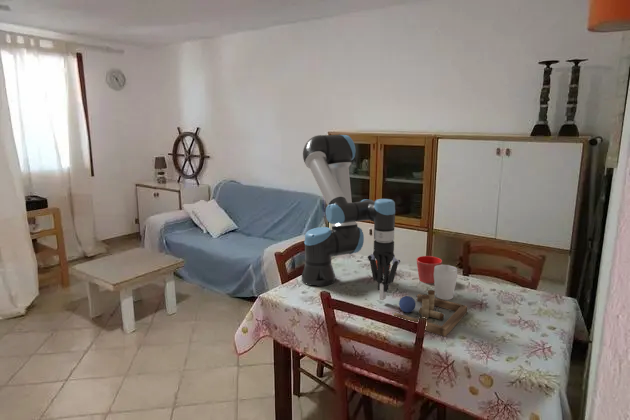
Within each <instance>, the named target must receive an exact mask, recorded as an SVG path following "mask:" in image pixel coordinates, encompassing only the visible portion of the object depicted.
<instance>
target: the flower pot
mask: <svg viewBox="0 0 630 420" xmlns="http://www.w3.org/2000/svg"><path fill="white" fill-rule="evenodd" d="M437 265H443V260H442V258H439V257H437V256H432V255H422V256H418V257H417V258H416V267H417V273H418V279H419V281H420V282H421V283H424V284H434V267H435V266H437Z"/></svg>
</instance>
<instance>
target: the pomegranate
mask: <svg viewBox="0 0 630 420" xmlns="http://www.w3.org/2000/svg"><path fill="white" fill-rule="evenodd" d="M375 260H376V259H375ZM391 264H392V263H390V266H389V270H391V268H392V265H391ZM376 265H377V260H376ZM377 270H378V266H377ZM383 274H384V267H383Z"/></svg>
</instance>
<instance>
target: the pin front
mask: <svg viewBox="0 0 630 420" xmlns="http://www.w3.org/2000/svg"><path fill="white" fill-rule="evenodd" d="M418 314H419V315H422V306H421V307H419V308H418ZM428 318H433V319H436V320H440V321H443V320H444V318H445V313H444V312H440V311H436V310H434V311H432V310H429V316H428Z"/></svg>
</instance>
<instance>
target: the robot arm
mask: <svg viewBox="0 0 630 420" xmlns="http://www.w3.org/2000/svg"><path fill="white" fill-rule="evenodd" d="M356 152H357V151H356V145H355V142H354V140H353V139H352V137H351V136H350V135H348V134H347V135H346V134H325V135H322V134H320V135H319V134H318V135H314V136H312V137H311V138H309V139H308V140H307V142H305V145H304V147H303V150H302V159H303V162H304V165H305V166H306V167H307V168H308V169H310V172H311V173H312V176H313V178H314V180H315V182H316V184H317V186H318V189H319V190H320V192H321V194H322V196H323V199H324V201H325V202H326V205H327V206H326V207H325V217H326V221H327V222H328V223H330V224H331V228H330V227H327V226H323V227H321V226H319V227H315V228H311V229H309V230H307V231H306V232H305V234H304V240H303V241H304V242H303V243H304V265H303V267H304V268H303V270H302V272H301V273H302V274H301V282H302V281H303V282H304V283H307V284H311V285H317V286H316V287H325V286H324V285H326V286H329V284H330V285H332V284H334V283H335V282H336V274H335V270H334V268H333V265H332V257H336V256H343V255H353V254H356V253H359V252H360V251H361V250H362V248H363V245H364V242H365V237H364V232H363V229H362V228H361V227H360V226H358V223H357V222H363V221H371V222H374V225H373V226H374V227H373V239H374V241H373V253H372V254H370V255H368V256H367V260H368V261H369V264H370V269H371V275H372V279H373V281H376V282H377V291H379V300H381V301H384V300H385V299H387V292H389V285H390V284H392V283H393V282H394V280H395V277H396V272H397V269H398V266H399V264H400V263H401V260H400V259H397V257H395V253H394V252H395V241H394V240H395V226H396V225H395V224H396V222H395V221H396V202H395V201H394V199H390V198H379V199H375V200H372V199H367V198H366V199H365V198H364V199H361V200H359V201H355V202H352V201H353V200H352V190H351V179H350V170H349V169H350V166H351V165H352V161H353V160H354V158H356V157H355V156H356ZM376 260H377V265H376ZM390 264H392V265H391V267H390V269H389V266H390ZM377 266H378V269H377ZM383 267H384V273H383ZM303 282H302V283H303ZM304 283H303V284H304Z"/></svg>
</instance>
